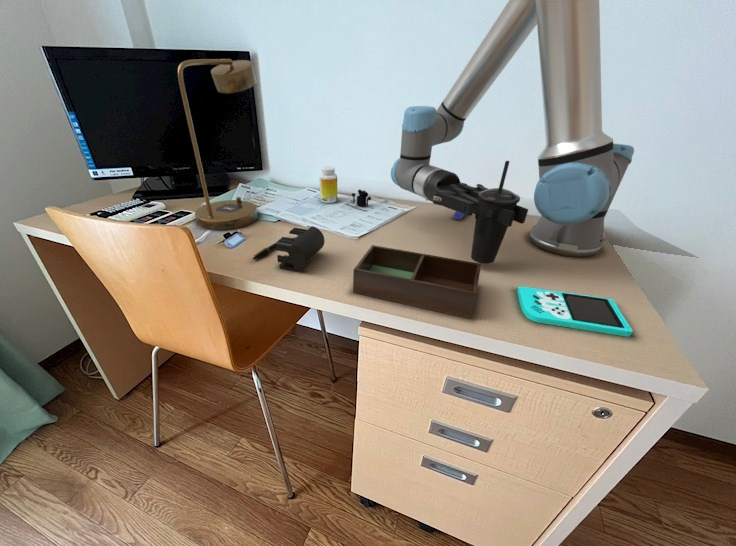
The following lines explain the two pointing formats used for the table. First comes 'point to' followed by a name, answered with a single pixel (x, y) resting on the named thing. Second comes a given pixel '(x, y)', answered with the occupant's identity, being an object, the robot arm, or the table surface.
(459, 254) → the table surface
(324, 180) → the supplement bottle
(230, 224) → the lamp
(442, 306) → the divided storage box
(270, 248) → the fountain pen
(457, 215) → the eraser
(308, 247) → the end cap
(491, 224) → the drinking cup
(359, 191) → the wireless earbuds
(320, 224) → the table surface
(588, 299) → the handheld game console
